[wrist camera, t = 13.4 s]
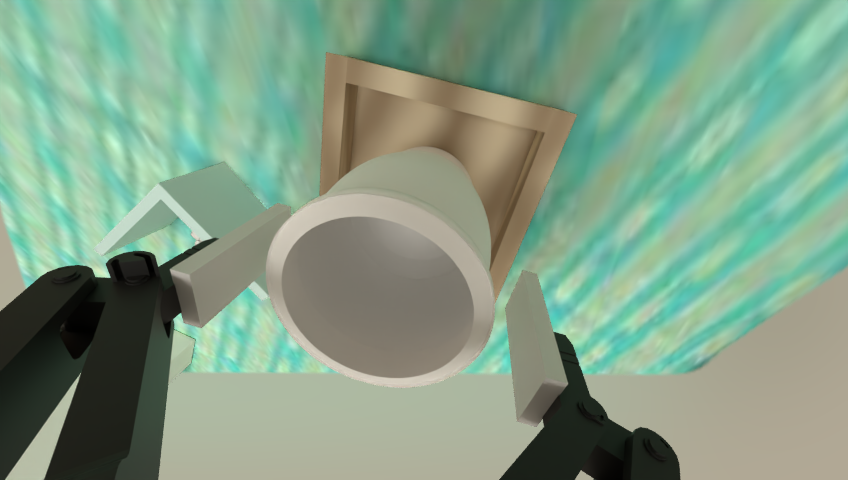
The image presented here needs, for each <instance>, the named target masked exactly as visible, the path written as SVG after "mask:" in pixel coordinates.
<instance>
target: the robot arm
mask: <svg viewBox="0 0 848 480" xmlns="http://www.w3.org/2000/svg"><path fill="white" fill-rule="evenodd" d="M290 217H291V207H290V206H287V205H283V204H279V203H277V204H275V205H274V206H272V207H270V208H269V209H267V210H265V211H264V212H262V213H261V214H259V215H257V216H256V217H254V218H252V219H251V220H249V221H247V222H246V223H244V224H243V225H241V226H239V227H238V228H236V229H234V230H233V231H231V232H229V233H228V234H226V235H225V236H223V237H221V238H220V239H219V238H212V239H208V240H205V241H202V242H200V243H199V244H197V245H195V246H193V247H192V249H188V250H187V251H185V252H184V253H183V254H182V253H181V254H180V255H178V256H176V257H175V258H173V259H171V260H169V261H168V262H166V263H164V264H163V265H161V266H159V267H158V265H157V262H156V258H155V255H154V254H152V253H150V252H145V251H133V252H127V253H123V254H120V255H117V256H115V257H113V258H111V259H110V260H109V261H108V262H107V263H106V266H107V269H108V271H109V274H110V276H111V278H100V277H95V275H94V273H93V270H92V268H90V267H87V266H81V265H75V266H66V267H61V268H57V269H55V270H52V271H50V272H47V273H46V274H44V275H42V276H41V277H40V278H38V279H37V280H36V281H35V282H34V283H33V284H31V285H30V286H29V287H28V288H27V289H26V290H25V291H23V293H21V294H20V295H19V296H18V297H16V298H15V299H14V300H13V301H12V302H11V303H9V304H8V305H7V306H6V307H5V308H4V309H3V310H1V311H0V480H5V479H6V478H7V476H8V475H9V474H10V472H11V471H12V469H13V468H14V466H15V465H16V464H17V462H18V461H19V459H20V458H21V457H22V455H23V454H24V452H25V451H26V449H27V448H28V447H29V445H30V444H31V442H32V441H33V440H34V438H35V437H36V435H37V434H38V432H39V431H40V430H41V428H42V427H43V425H44V424H45V423H46V421H47V420H48V418H49V417H50V416H51V414H52V413H53V411H54V410H55V408H56V407H57V406H58V404H59V403H60V401H61V400H62V399H63V397H64V396H65V394H66V393H67V391H68V390H69V389H70V387H71V386H72V384H73V383H74V382H75V380H76V379H77V377H78V376H79V374H80V373H81V375H80V378H79V381H78V384H77V386H76V389H75V392H74V395H73V398H72V401H71V404H70V407H69V409H68V412H67V415H66V418H65V421H64V424H63V427H62V429H61V432H60V435H59V438H58V441H57V444H56V447H55V450H54V452H53V455H52V458H51V461H50V464H49V467H48V470H47V472H46V475H45V478H44V480H158V476H159V466H160V457H161V446H162V438H163V428H164V419H165V410H166V399H167V390H168V381H169V372H170V362H171V353H172V343H173V334H174V321H173V318H175V317H176V316H177V315H178V314H180V313H181V314H182V318H183V322H184V323H186V324H189V325H192V326H196V327H199V328H202V327H203V326H204V325H206V324H207V323H208V322H209V321H210V320H211V319H212V318H213V317H214V316H216V315H217V314H218V313H219V312H220V311H221V310H222V309H223V308H225V307H226V306H227V305H228V304H229V303H230V302H231V301H232V300H234V299H235V298H236V297H237V296H238V295H239V294H240V293H241V292H242V291H244V290H245V289H246V288H247V287H248V286H249V285H250V284H251V283H253V282H254V281H255V280H256V279H257V278H258V277H259V276H260V275H262V274H263V273H264V272H265V271H266V261H267V256H268V252H269V248H270V246H271V243H272V241H273V239H274V237H275V235H276V233H277V232H278V230H279V229H280V228H281V226H282V225H283V224H284V223H285V222H286V221H287V220H288V219H289V218H290ZM505 311H506V320H507V330H508V339H509V349H510V359H511V368H512V378H513V387H514V397H515V406H516V416H517V421H518V422H521V423H524V424H528V425H531V426H534V427H537V426H538V424H539V423H540V422H541V420H542V419H543V423H544V428H543V429H542V430H541V431H540V432H539V434H538V435H537V436H536V437H535V438H534V440H533V441H532V442H531V443H530V444H529V445H528V446H527V448H526V449H525V450H524V451H523V452H522V454H521V455H520V456H519V457H518V458H517V459H516V461H515V462H514V463H513V464H512V465H511V466H510V468H509V469H508V470H507V471H506V472H505V474H504V475H503V476H502V477H501V478H500V479H499V480H575V478H576V477H577V475H578V474H579V472H580V470H582V471H583V472H585V473H586V474H588V475H590V476H591V477H592V478H594V480H680V468H679V462H678V458H677V455H676V454H675V452H674V451H673V449H672V447H671V446H670V445H669V444H668V443H667V442H666V441H665V440H664V439H663V438H662V437H661V436H659V435H658V434H657V433H655V432H654V431H652V430H649V429H648V428H642V427H640V428H638V429H635V430H634V431H633V432H630V431H629V430H627V429H625V428H623V427H622V426H620V425H618V424H616V423H615V422H613V421H611V420H610V419H608V416H607V414H606V412H605V410H604V409H603V407H602V406H601V405H600V404H599V403H598V402H597V401H596V400H595V399H593V398H592V397H591V396H590V394H589V391H588V388H587V385H586V382H585V379H584V376H583V373H582V370H581V368H580V366H579V362H578V359H577V357H576V353H575V350H574V347H573V345H572V344H571V342H570V341H569V339H568V338H567V337H566V335H563V334H559V333H556V332H553V329H552V325H551V322H550V318H549V315H548V311H547V308H546V304H545V301H544V297H543V294H542V290H541V287H540V283H539V280H538V276H537V274H535V273H532V272H528V271H524V270H523V271H522V273H521V275H520V277H519V279H518V282H517V284H516V286H515V288H514V290H513V292H512V294H511V297H510V299H509V301H508V303H507V305H506V307H505Z"/></svg>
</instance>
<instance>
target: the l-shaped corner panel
mask: <svg viewBox="0 0 848 480" xmlns="http://www.w3.org/2000/svg"><path fill="white" fill-rule="evenodd" d="M265 210H267V209H266V208H265V207H264V206H263V204H262V203H261V202H260V201H259V200H258V199H257V198H256V196H255V195H254V194H253V193H252V192H251V191H250V190H249V188H248V187H247V186H246V185H245V184H244V183H243V182H242V180H241V179H240V178H239V177H238V176H237V175H236V174H235V173H234V171H233V170H232V169H231V168H230V167H229V166H228V165H227V163H226V162H224V163H221V164H217V165H214V166H211V167H208V168H205V169H202V170H198V171H195V172H192V173H189V174H186V175H183V176H179V177H176V178H173V179H170V180H167V181H163V182H160V183H158V184H157V185H156V186H155V187H154V188H153V189H152V190H151V191H150V192H149V193H148V194H147V195H146V196H145V197H144V198H143V199H142V200H141V201H140V202H139V203H138V204H137V205H136V206H135V207H134V208H133V209H132V210H131V211H130V212H129V213H128V214H127V215H126V216H125V217H124V218H123V219H122V220H121V221H120V222H119V223H118V224H117V225H116V226H115V227H114V229H113V230H112V231H111V232H110V233H109V234H108V235H107V236H106V237H105V238H104V239H103V240H102V241H101V242H100V243H99V244H98V245H97V246H96V247H95V248H94V250H95V251H96V252H97V253H98V254H100V255H101V256H104V255H106V254H108V253H110V252H112V251H114V250H117V249H119V248H121V247H123V246H125V245H127V244H130V243H132V242H134V241H136V240H138V239H140V238H143V237H145V236H147V235H149V234H151V233H153V232H156V231H158V230H160V229H162V228H164V227H166V226H168V225H170V224H171V223H172V222H173V221H175V220H176V219H177V218H178V217H179V218H180V219H181V220H182V221H183V222H184V223H185V224H186V225H187V226H188V227H189V228H190V229H191V230H192V232H191V235H192V236H193V237H194V238H195V239H196V242H195V245H197V244H199V243H200V242H202V241H205V240H208V239H212V238H219V239H220V238H221V237H223V236H225V235H226V234H228V233H229V232H231V231H233V230H234V229H236V228H238V227H239V226H241V225H243V224H244V223H246V222H247V221H249V220H251V219H252V218H254V217H256V216H257V215H259V214H261V213H262V212H264V211H265ZM248 287H249V288H250V289H251V290H252V291H253V292H254V293H255V294H256V295H257V296H258V297H259V298H260V299H261V300H262V301H263V300H264V299H266V298H268V297H269V293H268V289H267V283H266V271H265V272H264V273H263V274H262V275H260V276H259V277H258V278H257V279H256V280H255V281H254V282H253V283H251V284H250V285H249V286H248Z"/></svg>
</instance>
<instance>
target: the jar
mask: <svg viewBox="0 0 848 480" xmlns="http://www.w3.org/2000/svg"><path fill="white" fill-rule="evenodd" d="M490 259H491V237H490V229H489V223H488V219H487V215H486V212H485V209H484V206H483V204H482V201H481V199H480V197H479V195H478V193H477V192H476V190H475V188H474V186H473V184H472V180H471V178H470V176H469V174H468V172H467V170H466V168H465V167H464V166H463V165H462V163H461V162H460V161H459V160H458V159H457V158H455V157H454V156H453V155H451V154H450V153H448V152H446V151H444V150H441V149H438V148H435V147H428V146H420V147H414V148H410V149H407V150H405V151H401V152H396V153H390V154H386V155H382V156H379V157H376V158H373V159H371V160H369V161H367V162H365V163H363V164H361V165H359V166H357V167H356V168H354V169H353V170H351V171H350V172H349V173H347V174H346V175H345V176H343V177H342V178H341V179H340V180H339V181H338V182H337V183H336V184H335V185H334V186H333V187H332V188H331V189H330V190H329V191H328V192H327V193H326V194H324V195H321V196H319V197H317V198H315V199H313V200H311V201H309V202H308V203H306V204H305V205H303V206H302V207H301V208H299V209H298V210H297V211H296V212H295V213H294V214H293V215H292V216H291V217H290V218H289V219H288V220H287V221H286V222H285V223H284V224H283V225H282V226H281V228H280V229H279V230H278V232H277V233H276V235H275V237H274V239H273V241H272V243H271V246H270V248H269V252H268V256H267V261H266V283H267V289H268V293H269V297H270V300H271V303H272V305H273V308H274V310H275V312H276V314H277V316H278V318H279V320H280V321H281V323H282V324H283V326H284V327H285V329H286V330H287V331H288V333H289V334H290V335H291V336H292V338H293V339H294V340H295V341H296V342H297V343H298V344H299V345H300V346H301V347H302V348H303V349H304V350H305V351H307V352H308V353H309V354H310V355H311V356H313V357H314V358H315V359H317V360H318V361H320V362H321V363H323V364H324V365H326V366H327V367H329V368H331V369H333V370H335V371H336V372H339V373H341V374H343V375H345V376H347V377H350V378H353V379H355V380H358V381H362V382H365V383H369V384H373V385H379V386H386V387H397V388H398V387H399V388H404V387H405V388H407V387H419V386H425V385H430V384H434V383H437V382H440V381H443V380H445V379H448V378H450V377H452V376H454V375H456V374H457V373H459V372H461V371H462V370H464V369H465V368H466V367H467V366H469V365H470V364H471V363H472V362H473V361H474V360H475V359H476V358H477V357H478V355H479V354H480V353H481V352H482V350H483V349H484V347H485V345H486V343H487V341H488V339H489V337H490V334H491V331H492V328H493V323H494V316H495V295H494V287H493V282H492V277H491V274H490V271H489V268H490Z"/></svg>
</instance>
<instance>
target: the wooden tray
mask: <svg viewBox="0 0 848 480" xmlns="http://www.w3.org/2000/svg"><path fill="white" fill-rule="evenodd" d="M576 116H577V114H574V113H571V112H567V111H564V110H561V109H557V108H553V107H549V106H545V105H541V104H537V103H533V102H529V101H525V100H520V99H516V98H512V97H508V96H504V95H500V94H496V93H492V92H488V91H484V90H480V89H476V88H472V87H468V86H464V85H460V84H456V83H452V82H448V81H444V80H440V79H436V78H432V77H428V76H424V75H420V74H416V73H412V72H408V71H404V70H400V69H396V68H392V67H388V66H384V65H380V64H376V63H372V62H368V61H364V60H360V59H356V58H352V57H348V56H343V55H338V54H333V53H328V52H326V65H325V87H324V109H323V131H322V152H321V174H320V196H321V195H324V194H326V193H327V192H328V191H329V190H330V189H331V188H332V187H333V186H334V185H335V184H336V183H337V182H338V181H339V180H340V179H341V178H342V177H343V176H345V175H346V174H347V173H349V172H350V171H351V170H353V169H354V168H356V167H357V166H359V165H361V164H363V163H365V162H367V161H369V160H371V159H373V158H376V157H379V156H382V155H386V154H390V153H396V152H401V151H405V150H407V149H410V148H414V147H420V146H428V147H435V148H438V149H441V150H444V151H446V152H448V153H450V154H451V155H453V156H454V157H455V158H457V159H458V160H459V161H460V162H461V163H462V165H463V166H464V167H465V168H466V170H467V172H468V174H469V176H470V178H471V180H472V184H473V186H474V188H475V190H476V192H477V193H478V195H479V197H480V199H481V201H482V204H483V206H484V209H485V212H486V215H487V219H488V223H489V229H490V237H491V259H490V268H489V271H490V274H491V277H492V282H493V287H494V295H495V302H496V300H497V298H498V295H499V293H500V291H501V289H502V286H503V284H504V282H505V279H506V277H507V275H508V272H509V270H510V268H511V266H512V263H513V261H514V259H515V256H516V254H517V252H518V249H519V247H520V245H521V243H522V240H523V238H524V236H525V233H526V231H527V229H528V226H529V224H530V222H531V220H532V217H533V215H534V213H535V210H536V208H537V206H538V203H539V201H540V199H541V197H542V194H543V192H544V190H545V187H546V185H547V183H548V180H549V178H550V176H551V174H552V171H553V169H554V167H555V164H556V162H557V160H558V157H559V155H560V153H561V151H562V148H563V146H564V144H565V141H566V139H567V137H568V134H569V132H570V130H571V128H572V125H573V123H574V121H575V118H576Z"/></svg>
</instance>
